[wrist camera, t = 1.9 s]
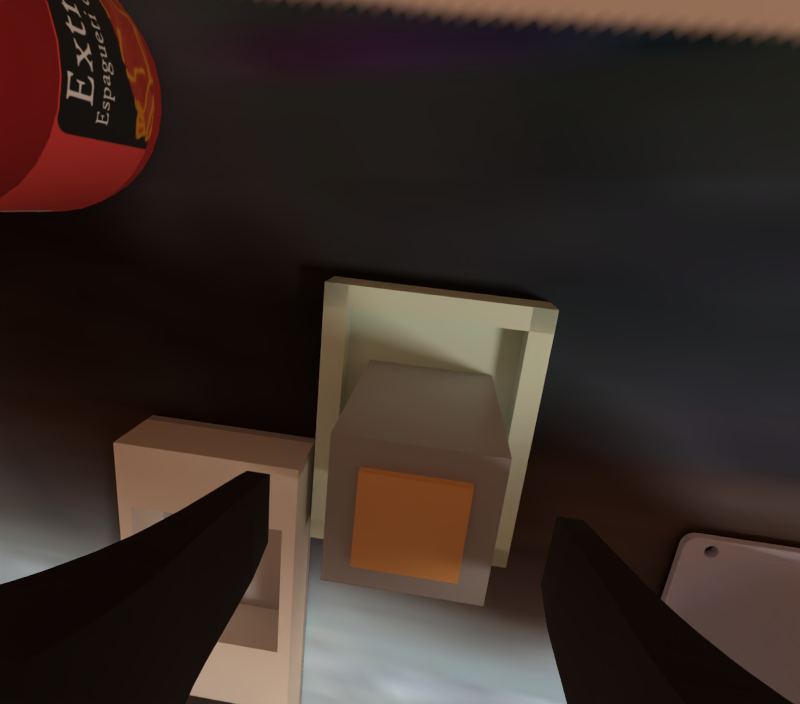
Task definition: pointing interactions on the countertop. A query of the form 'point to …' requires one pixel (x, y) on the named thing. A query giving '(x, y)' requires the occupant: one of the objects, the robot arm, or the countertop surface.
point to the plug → (416, 483)
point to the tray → (434, 362)
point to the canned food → (72, 103)
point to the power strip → (283, 557)
